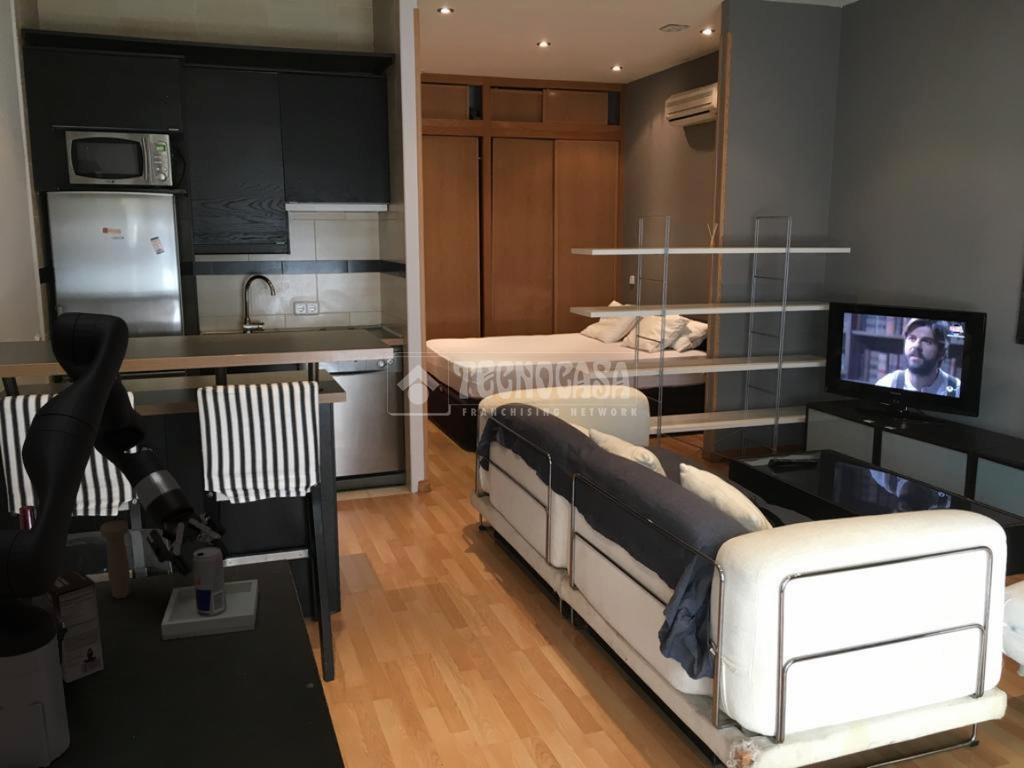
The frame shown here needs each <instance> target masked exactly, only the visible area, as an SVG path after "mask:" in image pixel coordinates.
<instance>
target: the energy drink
mask: <svg viewBox="0 0 1024 768" xmlns="http://www.w3.org/2000/svg"><path fill="white" fill-rule="evenodd" d="M192 554H193V555H192V568H193V579H194V586H195V593H196V604H197V612H198V613H199V614H200V615H202V616H215V615H218V614H220V613H222V612H224V610H225V609H226V594H225V583H226V582H225V581H226V580H225V572H224V570H225V569H224V560H223V556H222V552H221V549H220V548H217V547H212V546H207V547H202V548H199V549H196V550H195V551H194V552H193V553H192Z"/></svg>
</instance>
